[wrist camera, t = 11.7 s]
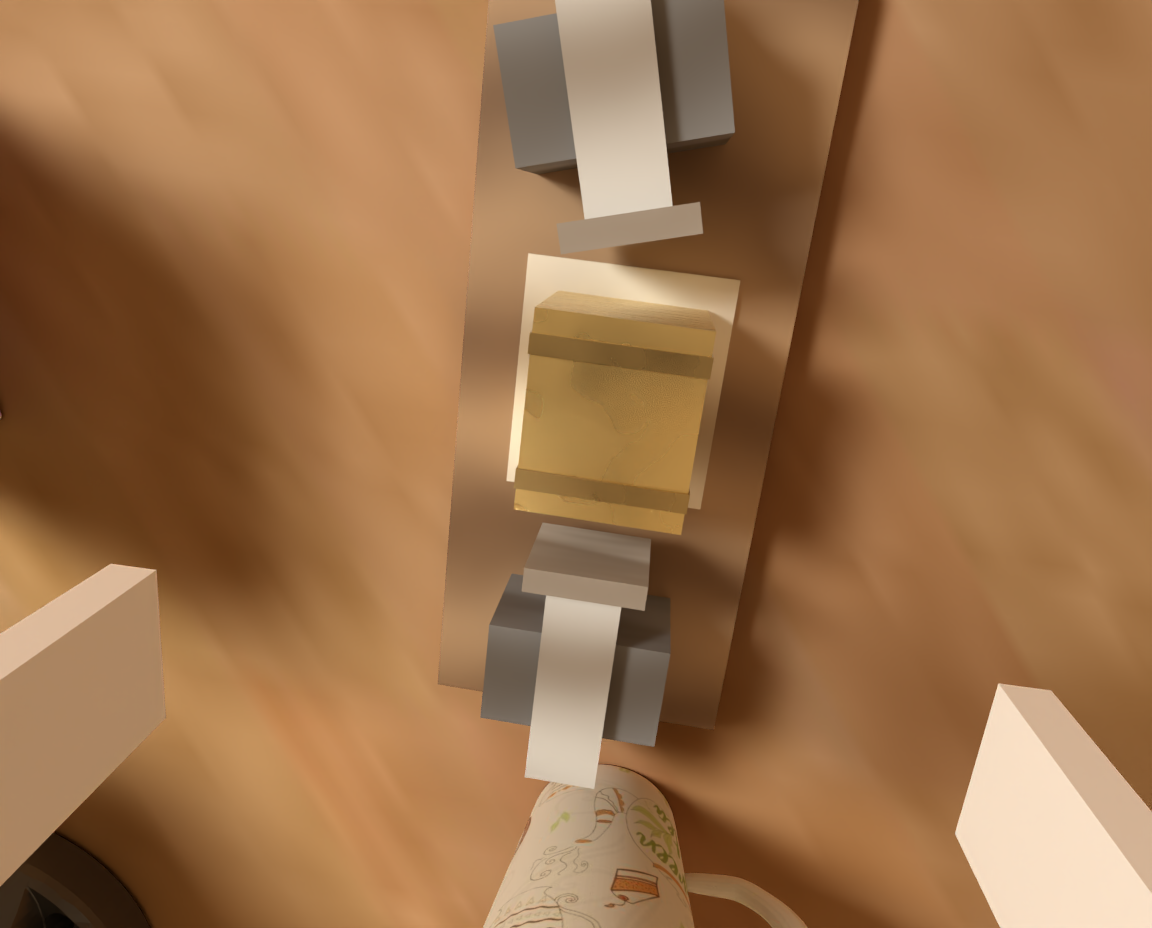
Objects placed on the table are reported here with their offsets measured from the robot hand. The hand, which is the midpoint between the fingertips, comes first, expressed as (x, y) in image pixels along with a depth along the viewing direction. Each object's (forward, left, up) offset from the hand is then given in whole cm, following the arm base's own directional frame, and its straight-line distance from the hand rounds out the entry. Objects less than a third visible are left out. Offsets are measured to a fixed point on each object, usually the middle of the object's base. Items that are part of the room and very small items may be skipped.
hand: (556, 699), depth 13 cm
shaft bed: (0, +2, -18) cm, 18 cm away
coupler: (0, +2, -16) cm, 16 cm away
